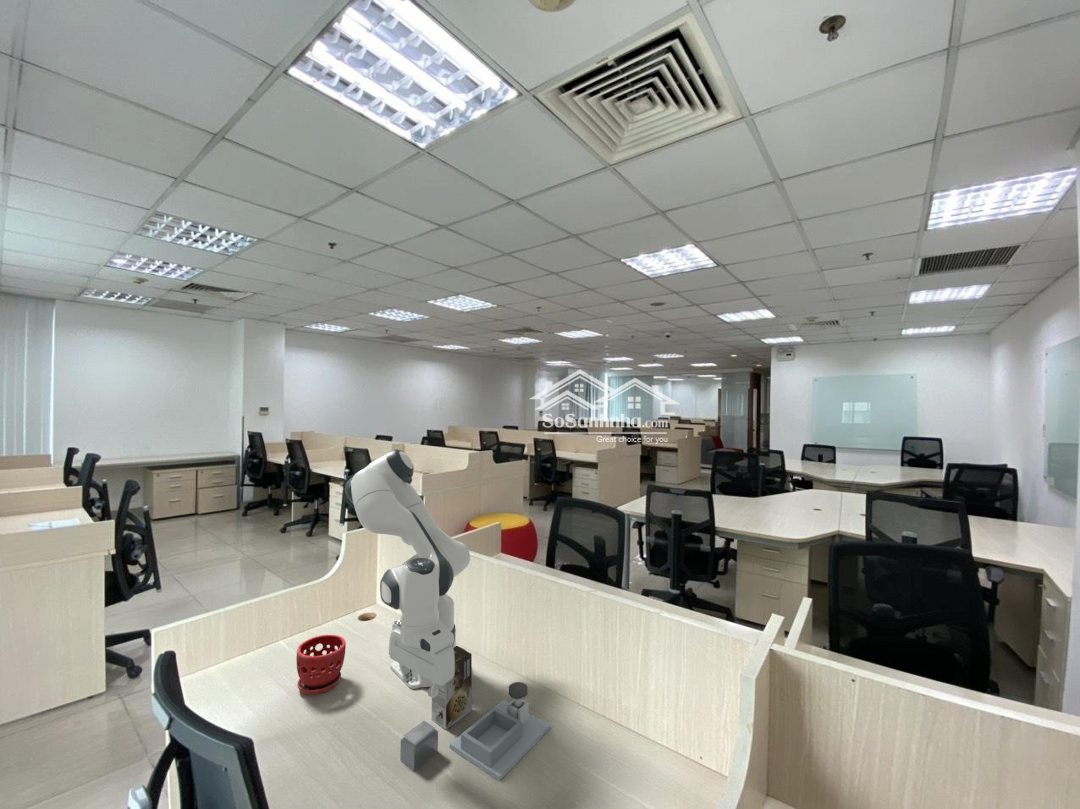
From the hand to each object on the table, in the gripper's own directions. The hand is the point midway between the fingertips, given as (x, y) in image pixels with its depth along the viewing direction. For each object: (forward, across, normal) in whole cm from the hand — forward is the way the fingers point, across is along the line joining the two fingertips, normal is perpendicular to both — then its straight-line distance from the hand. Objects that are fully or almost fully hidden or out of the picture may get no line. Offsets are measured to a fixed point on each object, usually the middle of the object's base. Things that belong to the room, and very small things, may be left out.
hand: (419, 688), depth 105 cm
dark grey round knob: (+12, +12, +23) cm, 28 cm away
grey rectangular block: (+16, 0, 0) cm, 16 cm away
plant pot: (+16, -45, 0) cm, 48 cm away
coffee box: (+16, -4, +14) cm, 22 cm away
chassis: (+16, +12, +16) cm, 26 cm away
